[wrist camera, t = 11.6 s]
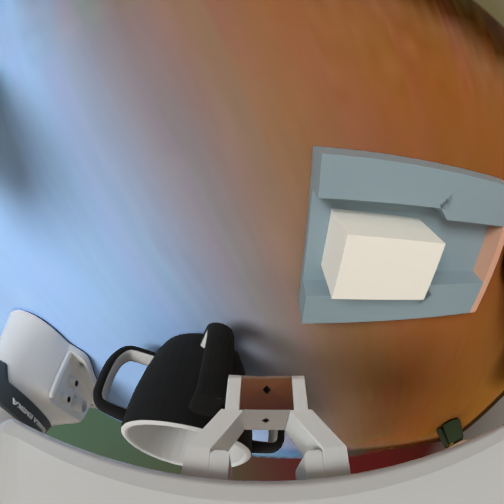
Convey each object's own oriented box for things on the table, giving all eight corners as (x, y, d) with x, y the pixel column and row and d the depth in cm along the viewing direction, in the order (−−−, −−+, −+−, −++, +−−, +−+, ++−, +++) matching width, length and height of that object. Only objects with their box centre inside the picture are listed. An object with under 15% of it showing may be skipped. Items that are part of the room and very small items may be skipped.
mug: (173, 397, 36) (157, 470, 26) (109, 318, 29) (66, 403, 18) (286, 384, 33) (291, 470, 23) (247, 289, 26) (240, 405, 16)
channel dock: (462, 294, 26) (475, 311, 23) (298, 300, 27) (301, 323, 24) (499, 178, 19) (519, 189, 17) (312, 146, 20) (321, 153, 17)
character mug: (456, 411, 42) (473, 457, 31) (470, 410, 43) (486, 452, 32) (423, 436, 47) (435, 479, 36) (439, 434, 48) (451, 474, 37)
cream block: (403, 269, 23) (423, 299, 20) (320, 265, 23) (331, 298, 19) (418, 218, 21) (445, 243, 17) (331, 208, 21) (347, 234, 17)
